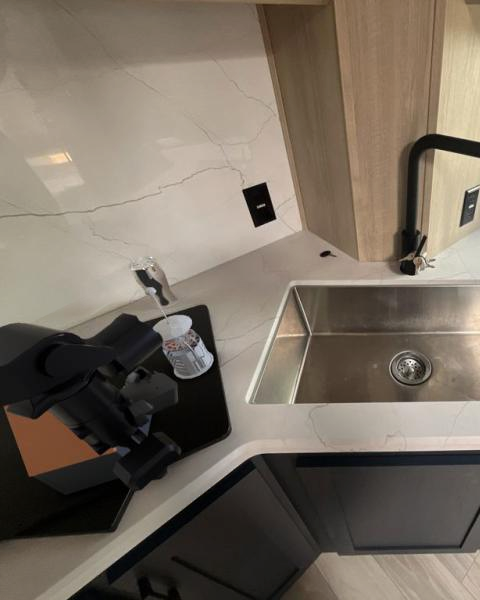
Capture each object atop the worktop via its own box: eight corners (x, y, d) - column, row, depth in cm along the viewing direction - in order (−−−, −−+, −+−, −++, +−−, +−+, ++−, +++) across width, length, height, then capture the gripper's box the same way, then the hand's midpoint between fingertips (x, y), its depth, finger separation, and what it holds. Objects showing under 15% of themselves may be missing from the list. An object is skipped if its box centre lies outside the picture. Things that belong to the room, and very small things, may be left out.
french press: (199, 345, 86) (157, 269, 70) (229, 362, 83) (192, 286, 66) (163, 370, 80) (108, 293, 64) (194, 391, 76) (143, 314, 60)
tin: (90, 429, 68) (63, 406, 62) (153, 412, 72) (133, 389, 66) (67, 495, 59) (32, 476, 53) (141, 472, 62) (117, 452, 56)
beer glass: (176, 293, 102) (154, 253, 92) (181, 305, 98) (159, 264, 88) (150, 302, 98) (125, 261, 89) (155, 314, 95) (129, 273, 85)
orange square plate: (3, 392, 51) (-2, 394, 50) (91, 372, 54) (89, 373, 54) (32, 474, 53) (29, 477, 52) (116, 449, 56) (114, 452, 56)
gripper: (195, 390, 43) (230, 446, 53) (118, 336, 49) (162, 394, 59) (100, 465, 35) (162, 514, 45) (24, 388, 42) (93, 445, 52)
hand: (146, 459), depth 50 cm, fingers open, 9 cm apart
